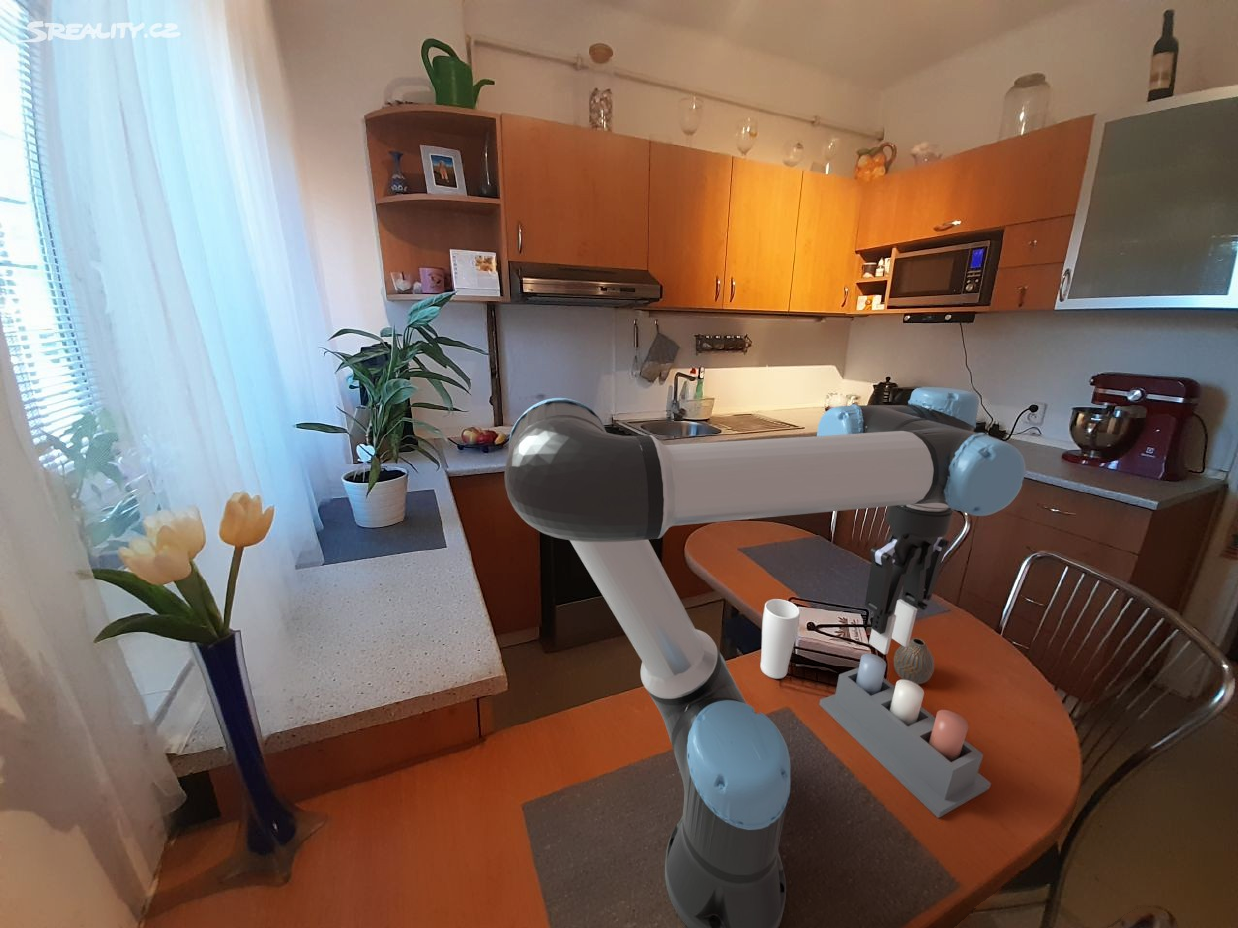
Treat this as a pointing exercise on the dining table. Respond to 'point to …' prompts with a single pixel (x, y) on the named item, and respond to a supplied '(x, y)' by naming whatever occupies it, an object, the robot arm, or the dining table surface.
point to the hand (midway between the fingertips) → (888, 644)
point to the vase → (914, 662)
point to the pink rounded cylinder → (948, 734)
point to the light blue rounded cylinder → (871, 673)
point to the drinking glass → (778, 636)
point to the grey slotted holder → (906, 746)
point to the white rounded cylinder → (907, 701)
